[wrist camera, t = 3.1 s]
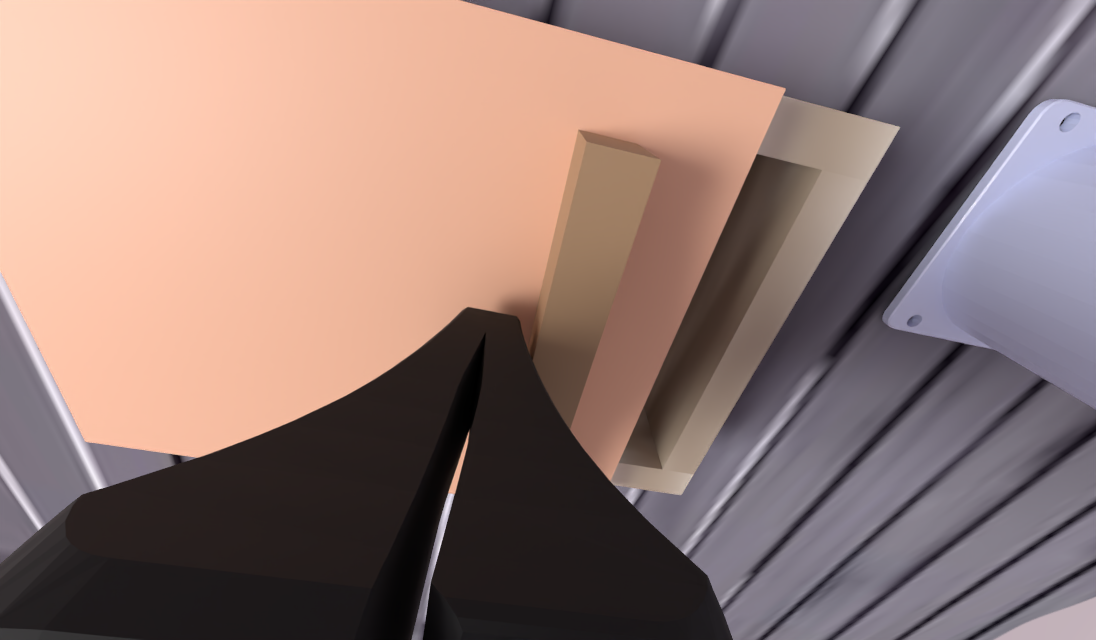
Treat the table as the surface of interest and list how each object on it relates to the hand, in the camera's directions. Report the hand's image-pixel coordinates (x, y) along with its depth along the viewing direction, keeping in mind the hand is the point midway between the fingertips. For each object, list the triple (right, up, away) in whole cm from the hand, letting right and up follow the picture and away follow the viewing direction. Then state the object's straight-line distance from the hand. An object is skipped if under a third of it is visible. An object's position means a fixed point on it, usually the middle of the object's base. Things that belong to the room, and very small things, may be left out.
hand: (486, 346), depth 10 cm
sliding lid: (-3, +1, +1) cm, 4 cm away
